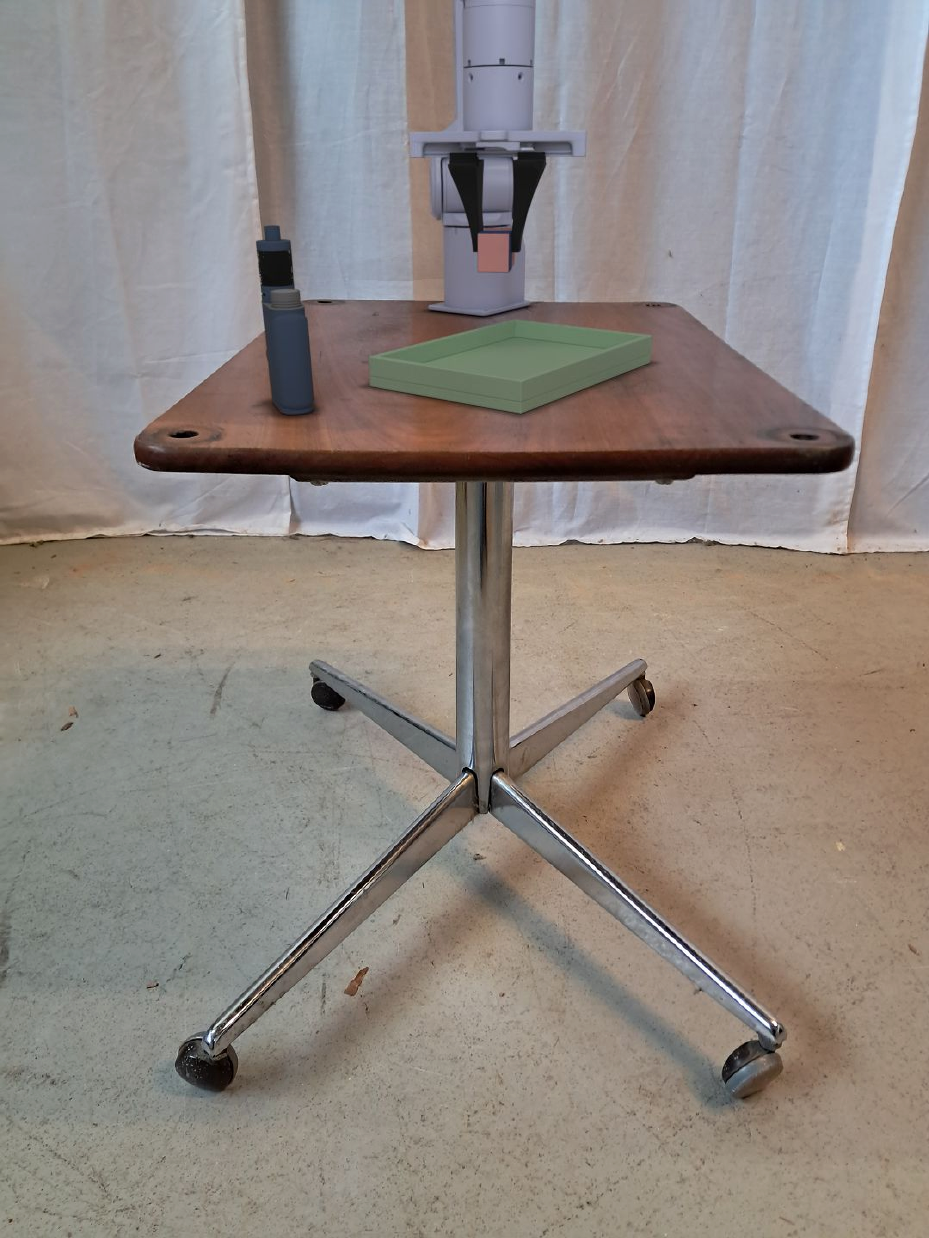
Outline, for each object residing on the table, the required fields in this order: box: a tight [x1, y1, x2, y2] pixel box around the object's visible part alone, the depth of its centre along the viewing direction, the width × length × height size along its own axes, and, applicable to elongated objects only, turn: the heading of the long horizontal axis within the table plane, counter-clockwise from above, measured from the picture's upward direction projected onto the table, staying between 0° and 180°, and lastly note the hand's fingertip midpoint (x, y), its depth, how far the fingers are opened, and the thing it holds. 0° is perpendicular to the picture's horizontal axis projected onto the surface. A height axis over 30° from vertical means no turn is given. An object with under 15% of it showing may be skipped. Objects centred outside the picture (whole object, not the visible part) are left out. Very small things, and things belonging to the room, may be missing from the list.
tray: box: [368, 318, 653, 415], centre depth 75 cm, size 20×14×2 cm
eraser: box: [478, 228, 515, 273], centre depth 79 cm, size 6×3×3 cm, turn 172°
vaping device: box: [255, 224, 315, 416], centre depth 64 cm, size 3×5×12 cm, turn 21°
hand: (496, 251), depth 79 cm, fingers closed on eraser, 3 cm apart
